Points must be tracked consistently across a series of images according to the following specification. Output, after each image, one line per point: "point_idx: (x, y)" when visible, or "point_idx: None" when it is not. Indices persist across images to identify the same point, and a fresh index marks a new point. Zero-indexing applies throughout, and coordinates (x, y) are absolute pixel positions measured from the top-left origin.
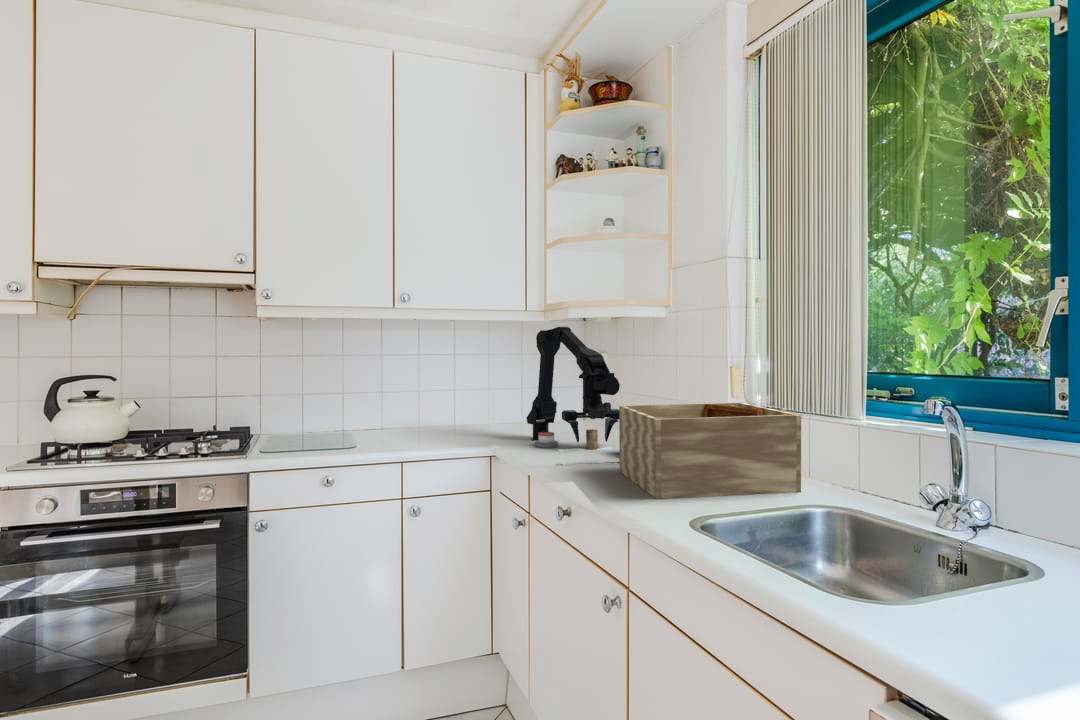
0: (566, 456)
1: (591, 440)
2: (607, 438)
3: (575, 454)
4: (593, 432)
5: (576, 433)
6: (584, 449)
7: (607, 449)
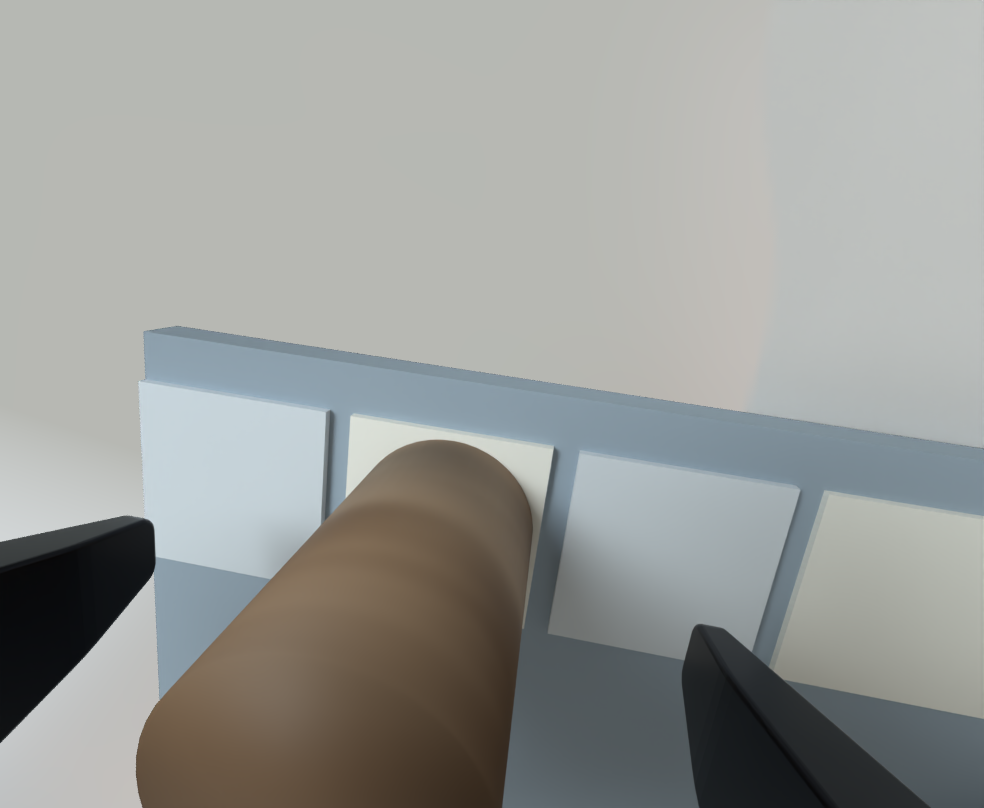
0: (957, 378)
1: (449, 522)
2: (77, 532)
3: None
4: (330, 623)
5: (878, 787)
6: (573, 530)
7: (231, 400)
